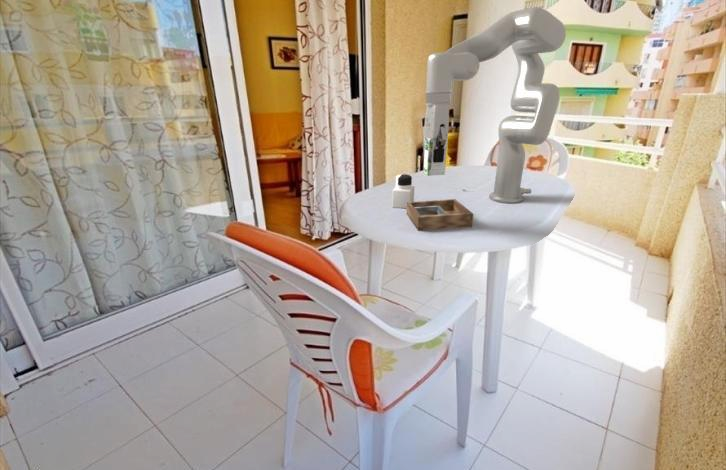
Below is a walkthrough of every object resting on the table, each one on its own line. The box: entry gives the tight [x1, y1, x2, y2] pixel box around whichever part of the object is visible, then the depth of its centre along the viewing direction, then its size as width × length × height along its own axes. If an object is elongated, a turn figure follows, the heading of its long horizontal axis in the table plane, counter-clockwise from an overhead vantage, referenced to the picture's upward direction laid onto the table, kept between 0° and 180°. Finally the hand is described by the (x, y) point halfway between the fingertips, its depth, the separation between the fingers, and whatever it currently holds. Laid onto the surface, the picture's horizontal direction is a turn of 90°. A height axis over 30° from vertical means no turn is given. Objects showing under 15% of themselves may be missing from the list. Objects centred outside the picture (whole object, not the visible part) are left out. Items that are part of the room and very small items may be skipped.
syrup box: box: [423, 135, 449, 176], centre depth 107 cm, size 6×6×14 cm
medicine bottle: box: [391, 173, 415, 209], centre depth 130 cm, size 7×7×12 cm
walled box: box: [406, 198, 474, 232], centre depth 116 cm, size 18×16×4 cm
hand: (434, 159), depth 108 cm, fingers closed on syrup box, 5 cm apart
